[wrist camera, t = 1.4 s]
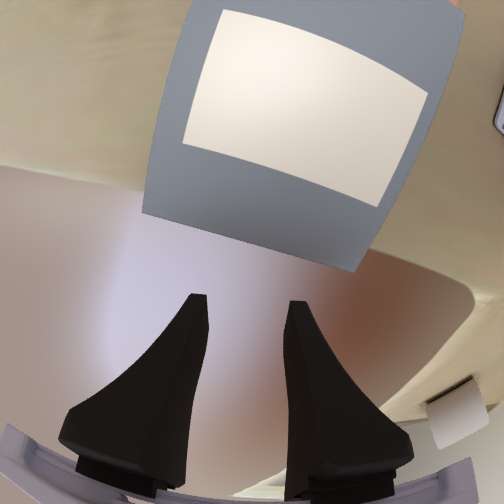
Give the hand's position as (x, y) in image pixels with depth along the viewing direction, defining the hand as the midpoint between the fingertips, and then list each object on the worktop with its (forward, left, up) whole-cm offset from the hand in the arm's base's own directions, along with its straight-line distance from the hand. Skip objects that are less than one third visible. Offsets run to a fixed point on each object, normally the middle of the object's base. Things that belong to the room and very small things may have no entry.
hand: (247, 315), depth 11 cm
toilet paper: (-44, +21, -10) cm, 50 cm away
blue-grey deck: (0, -9, -9) cm, 13 cm away
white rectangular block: (0, -8, -5) cm, 10 cm away
